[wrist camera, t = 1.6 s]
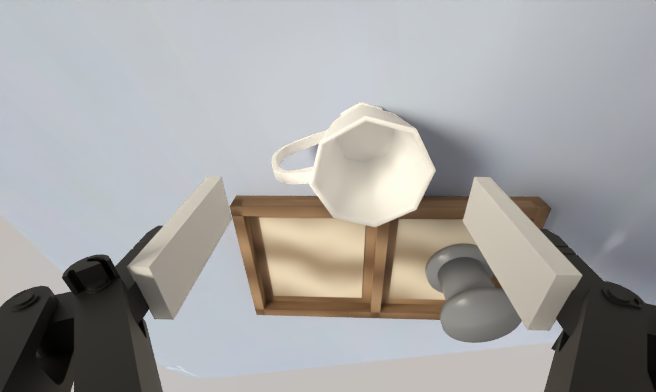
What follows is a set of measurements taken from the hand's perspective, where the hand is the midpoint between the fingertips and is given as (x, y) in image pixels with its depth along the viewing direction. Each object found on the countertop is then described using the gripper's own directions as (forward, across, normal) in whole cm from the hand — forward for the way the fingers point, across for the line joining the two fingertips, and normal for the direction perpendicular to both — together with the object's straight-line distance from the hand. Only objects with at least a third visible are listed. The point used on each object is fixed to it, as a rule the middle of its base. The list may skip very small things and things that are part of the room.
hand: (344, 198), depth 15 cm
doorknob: (+9, +12, -13) cm, 20 cm away
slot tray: (+10, +4, -13) cm, 16 cm away
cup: (+9, 0, +1) cm, 9 cm away
